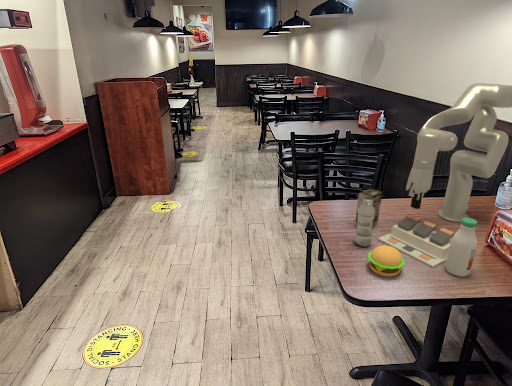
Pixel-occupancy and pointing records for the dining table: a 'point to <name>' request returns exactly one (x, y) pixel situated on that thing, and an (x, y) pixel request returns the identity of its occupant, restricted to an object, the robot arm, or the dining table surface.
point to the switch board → (414, 253)
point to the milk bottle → (462, 249)
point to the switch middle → (425, 229)
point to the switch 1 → (409, 222)
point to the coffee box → (376, 204)
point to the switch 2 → (441, 236)
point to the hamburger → (386, 261)
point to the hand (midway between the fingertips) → (415, 207)
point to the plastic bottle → (365, 222)
